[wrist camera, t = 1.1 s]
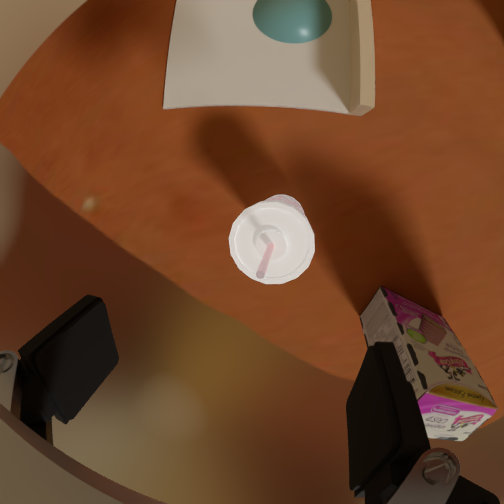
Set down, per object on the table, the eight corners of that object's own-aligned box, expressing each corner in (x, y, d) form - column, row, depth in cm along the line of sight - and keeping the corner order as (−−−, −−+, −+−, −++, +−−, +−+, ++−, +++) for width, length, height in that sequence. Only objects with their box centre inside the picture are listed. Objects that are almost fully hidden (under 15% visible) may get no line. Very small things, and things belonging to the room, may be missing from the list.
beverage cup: (286, 174, 26) (269, 193, 13) (324, 223, 27) (340, 287, 14) (239, 211, 28) (184, 261, 15) (276, 256, 29) (252, 338, 16)
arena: (355, -21, 16) (362, -47, 11) (360, 116, 23) (374, 107, 18) (182, -18, 19) (162, -39, 14) (165, 109, 26) (137, 102, 21)
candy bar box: (445, 314, 28) (500, 408, 13) (422, 344, 30) (462, 443, 14) (379, 281, 28) (428, 392, 13) (356, 316, 30) (380, 435, 15)
